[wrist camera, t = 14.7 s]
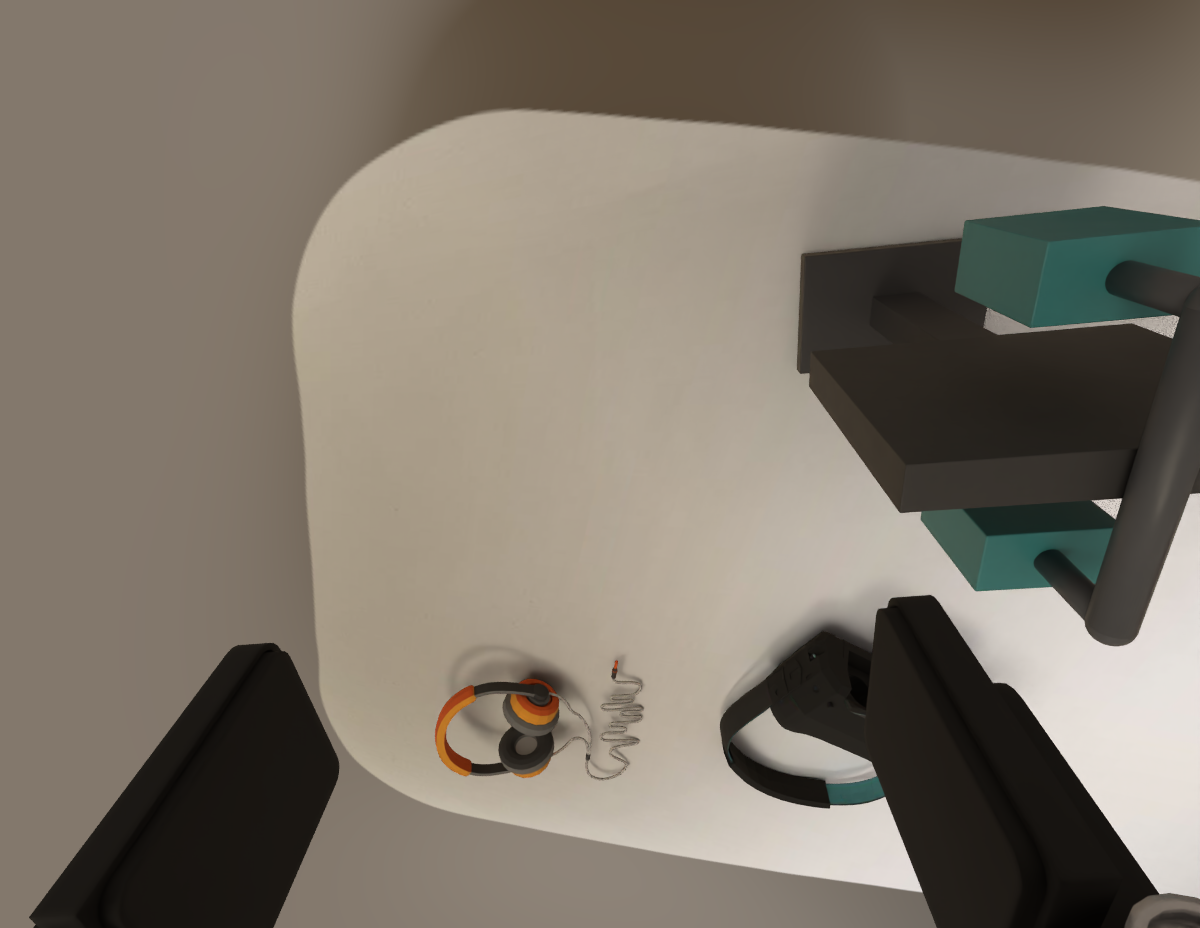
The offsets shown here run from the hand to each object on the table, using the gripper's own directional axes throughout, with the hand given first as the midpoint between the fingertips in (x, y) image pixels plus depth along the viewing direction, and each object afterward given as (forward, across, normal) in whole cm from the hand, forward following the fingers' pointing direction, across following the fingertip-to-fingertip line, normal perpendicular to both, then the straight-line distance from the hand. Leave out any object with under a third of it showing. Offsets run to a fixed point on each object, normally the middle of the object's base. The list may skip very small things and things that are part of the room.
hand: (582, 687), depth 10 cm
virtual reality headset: (+36, -16, +44) cm, 59 cm away
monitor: (+36, -18, +5) cm, 41 cm away
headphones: (+36, +11, +42) cm, 56 cm away
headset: (+22, -18, +5) cm, 29 cm away
